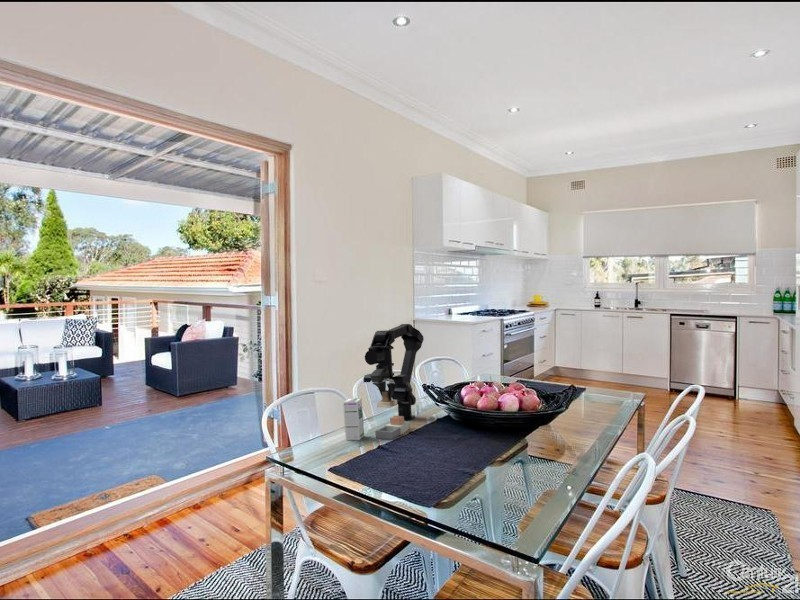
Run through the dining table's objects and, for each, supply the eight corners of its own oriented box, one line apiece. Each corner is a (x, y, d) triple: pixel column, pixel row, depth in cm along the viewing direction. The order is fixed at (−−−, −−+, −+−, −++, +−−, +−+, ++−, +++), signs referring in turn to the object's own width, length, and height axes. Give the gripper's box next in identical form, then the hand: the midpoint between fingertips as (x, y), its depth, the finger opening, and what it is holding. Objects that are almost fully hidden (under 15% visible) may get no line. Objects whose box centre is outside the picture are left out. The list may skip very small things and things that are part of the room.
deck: (393, 428, 191) (393, 421, 191) (409, 429, 188) (408, 422, 188) (384, 433, 185) (384, 425, 185) (400, 434, 182) (400, 426, 182)
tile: (395, 421, 189) (394, 415, 189) (404, 422, 188) (403, 416, 188) (390, 424, 186) (390, 418, 186) (399, 425, 184) (399, 418, 184)
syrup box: (360, 440, 177) (358, 401, 177) (345, 440, 178) (342, 401, 178) (364, 435, 183) (362, 398, 183) (349, 435, 184) (347, 398, 184)
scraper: (384, 403, 199) (384, 389, 199) (397, 404, 196) (396, 390, 196) (377, 407, 194) (376, 392, 194) (389, 407, 191) (389, 392, 191)
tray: (384, 433, 185) (384, 426, 185) (400, 434, 181) (400, 427, 181) (375, 438, 179) (375, 430, 179) (392, 440, 175) (391, 432, 175)
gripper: (354, 363, 192) (356, 402, 192) (394, 364, 183) (397, 405, 183) (369, 360, 202) (372, 396, 202) (408, 360, 193) (410, 399, 193)
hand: (387, 399), depth 195 cm, fingers closed on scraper, 2 cm apart
